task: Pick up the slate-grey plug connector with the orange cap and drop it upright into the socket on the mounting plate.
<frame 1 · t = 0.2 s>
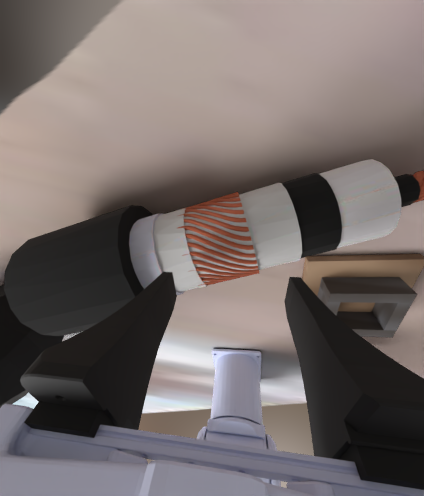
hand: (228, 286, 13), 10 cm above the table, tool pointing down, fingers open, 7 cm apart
bottle: (34, 309, 34), on the table
holder: (347, 293, 24), on the table
cable: (226, 218, 21), on the table
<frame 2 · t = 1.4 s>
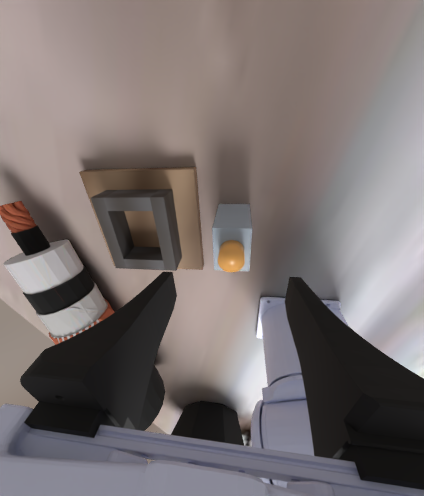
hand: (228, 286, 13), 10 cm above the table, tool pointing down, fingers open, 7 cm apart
bottle: (211, 411, 46), on the table
holder: (150, 221, 22), on the table
connector: (233, 222, 21), on the table
cable: (107, 304, 31), on the table
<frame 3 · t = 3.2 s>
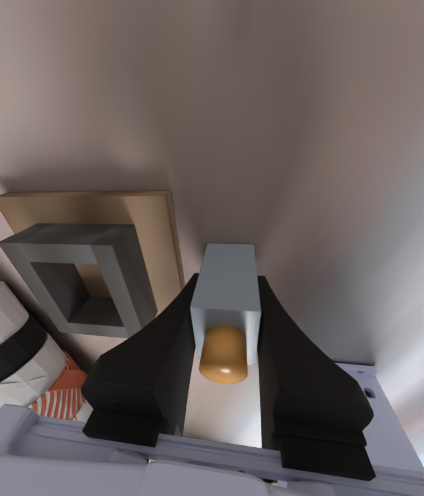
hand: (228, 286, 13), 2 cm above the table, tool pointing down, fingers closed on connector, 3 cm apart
holder: (111, 263, 15), on the table
connector: (230, 268, 14), on the table, touching gripper
cable: (72, 352, 24), on the table
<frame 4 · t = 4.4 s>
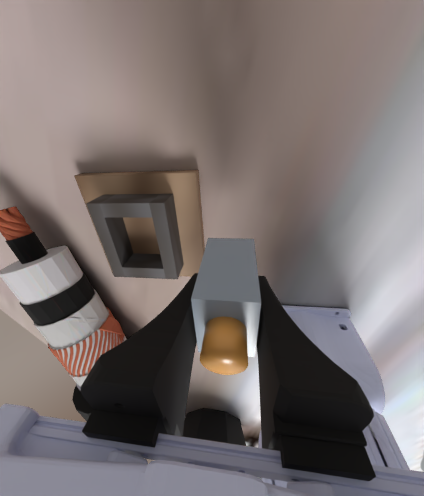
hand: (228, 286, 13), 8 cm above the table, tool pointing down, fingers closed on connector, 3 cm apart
bottle: (214, 419, 45), on the table
holder: (150, 227, 21), on the table
connector: (230, 263, 14), point 6 cm above the table, touching gripper
cable: (108, 311, 30), on the table
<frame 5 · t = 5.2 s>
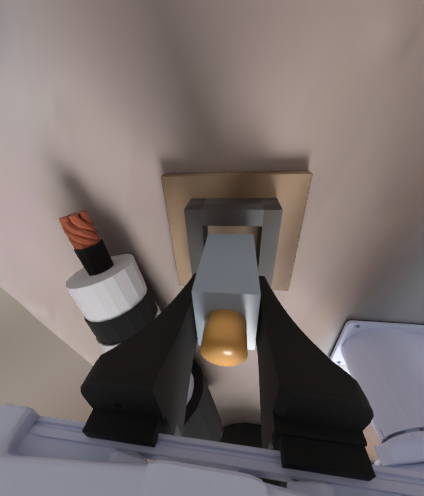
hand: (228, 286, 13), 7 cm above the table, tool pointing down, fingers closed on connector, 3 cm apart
bottle: (251, 433, 43), on the table
holder: (232, 235, 18), on the table
connector: (230, 258, 14), point 4 cm above the table, touching gripper
cable: (160, 323, 27), on the table
when the fingers open (6 cm above the table, at t = 6.0 s): connector drops 2 cm, resting on holder.
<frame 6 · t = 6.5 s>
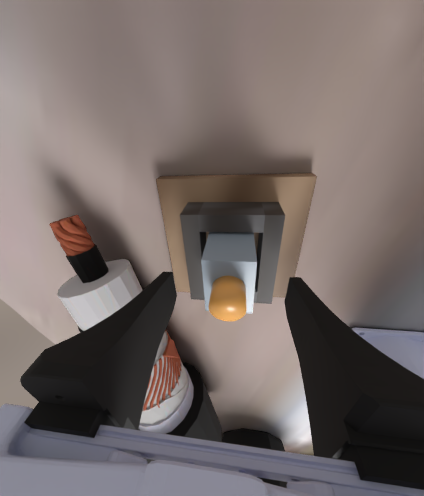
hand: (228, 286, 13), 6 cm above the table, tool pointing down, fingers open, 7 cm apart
bottle: (251, 438, 42), on the table
holder: (232, 240, 18), on the table
connector: (232, 242, 16), point 1 cm above the table, touching holder
cable: (158, 329, 26), on the table
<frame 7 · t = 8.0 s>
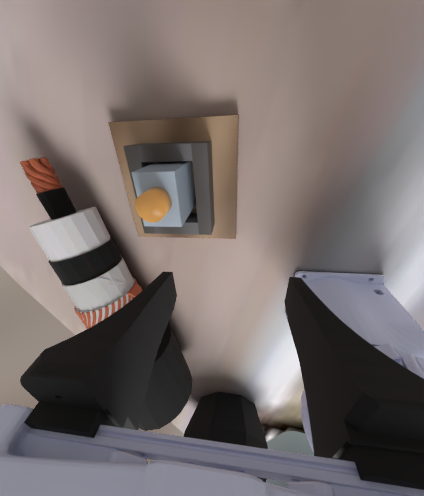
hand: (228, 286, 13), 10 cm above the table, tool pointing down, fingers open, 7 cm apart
bottle: (227, 404, 44), on the table
holder: (181, 184, 20), on the table
connector: (178, 182, 19), point 1 cm above the table, touching holder
cable: (131, 283, 29), on the table
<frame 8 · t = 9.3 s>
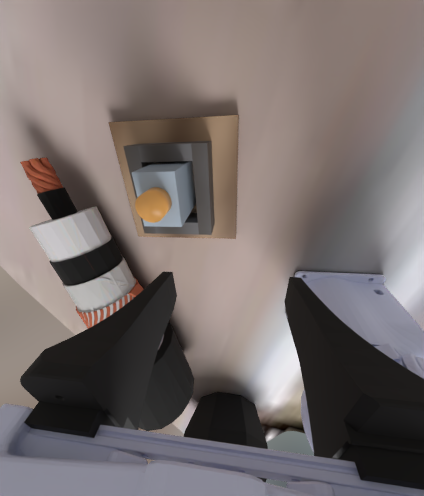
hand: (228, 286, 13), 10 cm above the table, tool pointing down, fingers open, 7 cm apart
bottle: (227, 404, 44), on the table
holder: (181, 184, 20), on the table
connector: (178, 182, 19), point 1 cm above the table, touching holder
cable: (132, 283, 29), on the table
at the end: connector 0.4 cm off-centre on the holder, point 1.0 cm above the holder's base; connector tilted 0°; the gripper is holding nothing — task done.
